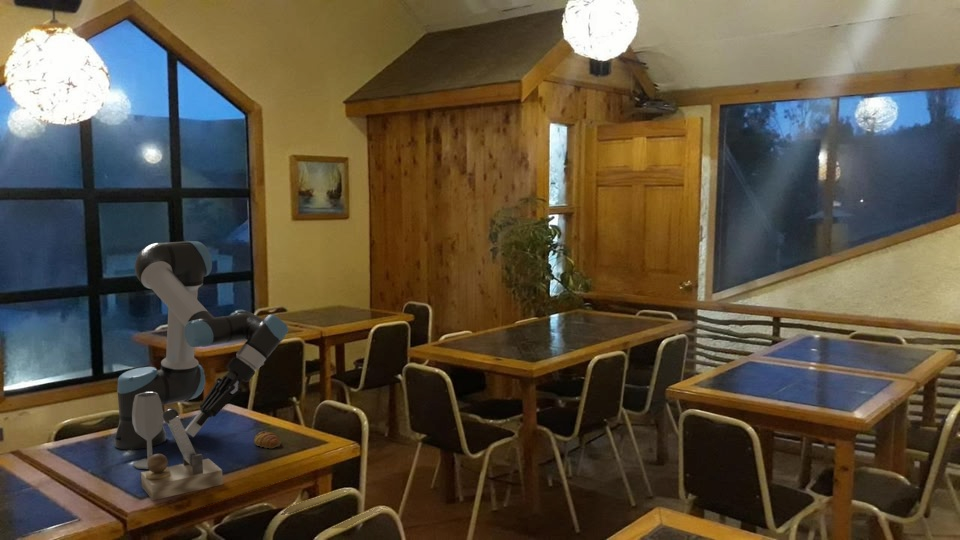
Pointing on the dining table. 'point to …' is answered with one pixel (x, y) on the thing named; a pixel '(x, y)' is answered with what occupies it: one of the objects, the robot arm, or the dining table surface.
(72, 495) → the dining table surface
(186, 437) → the lever
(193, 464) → the nutcracker base
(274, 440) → the pastry
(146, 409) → the wineglass
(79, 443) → the dining table surface
